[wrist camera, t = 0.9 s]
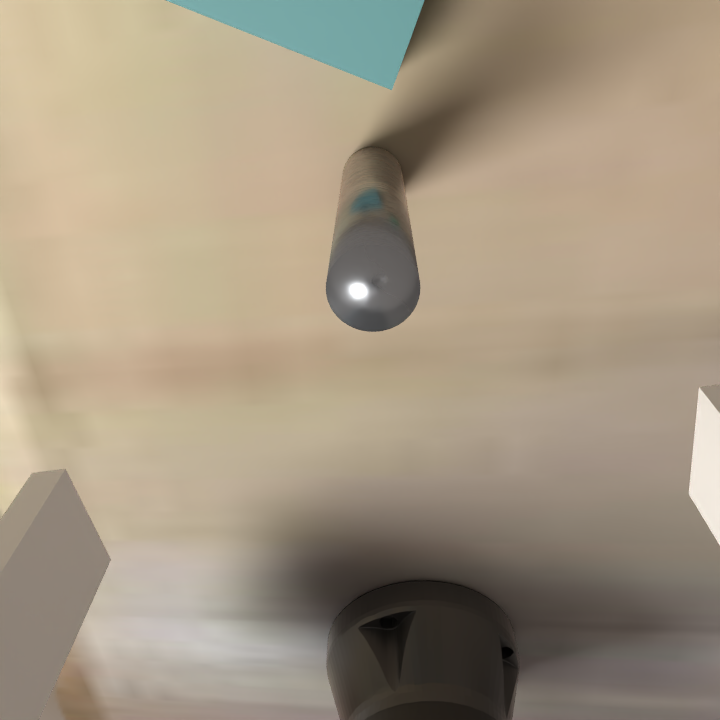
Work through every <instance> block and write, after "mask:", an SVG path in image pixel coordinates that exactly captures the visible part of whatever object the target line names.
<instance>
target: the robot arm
mask: <svg viewBox="0 0 720 720" xmlns="http://www.w3.org/2000/svg"><path fill="white" fill-rule="evenodd" d="M689 495H690V497H691V499H692V500H693V502H694V503H695V505H696V507H697V508H698V510H699V512H700V513H701V515H702V517H703V518H704V520H705V522H706V523H707V525H708V527H709V528H710V530H711V532H712V533H713V535H714V537H715V538H716V540H717V541H718V543H719V545H720V385H712V386H705V387H699V394H698V404H697V414H696V425H695V435H694V445H693V456H692V466H691V476H690V486H689ZM110 560H111V559H110V557H109V555H108V553H107V551H106V549H105V547H104V545H103V543H102V541H101V539H100V537H99V535H98V533H97V531H96V529H95V527H94V525H93V523H92V521H91V519H90V517H89V515H88V513H87V511H86V509H85V507H84V505H83V503H82V501H81V499H80V497H79V495H78V493H77V491H76V489H75V487H74V485H73V483H72V481H71V479H70V477H69V475H68V473H67V471H66V469H61V470H53V471H45V472H37V473H32V474H31V476H30V477H29V478H28V480H27V481H26V483H25V484H24V486H23V487H22V489H21V490H20V492H19V493H18V495H17V496H16V497H15V499H14V500H13V502H12V503H11V505H10V506H9V508H8V509H7V511H6V512H5V514H4V515H3V517H2V518H1V519H0V720H39V719H40V717H41V714H42V712H43V710H44V708H45V705H46V703H47V701H48V699H49V697H50V694H51V692H52V690H53V688H54V685H55V683H56V681H57V679H58V676H59V674H60V672H61V670H62V668H63V665H64V663H65V661H66V659H67V656H68V654H69V652H70V650H71V647H72V645H73V643H74V641H75V639H76V636H77V634H78V632H79V630H80V627H81V625H82V623H83V621H84V618H85V616H86V614H87V612H88V610H89V607H90V605H91V603H92V601H93V598H94V596H95V594H96V592H97V589H98V587H99V585H100V583H101V581H102V578H103V576H104V574H105V572H106V569H107V567H108V565H109V563H110ZM518 674H519V654H518V649H517V645H516V640H515V635H514V631H513V628H512V625H511V623H510V621H509V619H508V618H507V616H506V615H505V613H504V612H503V611H502V610H501V609H500V608H499V607H498V606H497V605H496V604H495V603H494V602H492V601H491V600H490V599H488V598H486V597H485V596H483V595H481V594H479V593H477V592H475V591H473V590H470V589H468V588H465V587H462V586H458V585H454V584H449V583H443V582H434V581H414V582H404V583H398V584H393V585H389V586H385V587H382V588H379V589H376V590H374V591H371V592H369V593H367V594H365V595H363V596H361V597H360V598H358V599H356V600H355V601H354V602H352V603H351V604H350V605H348V606H347V607H346V608H345V609H344V610H343V611H342V612H341V613H340V614H339V615H338V617H337V618H336V620H335V621H334V623H333V625H332V627H331V630H330V633H329V637H328V647H327V675H328V679H329V683H330V686H331V690H332V693H333V697H334V700H335V704H336V707H337V711H338V714H339V718H340V720H512V717H513V709H514V702H515V695H516V688H517V681H518Z"/></svg>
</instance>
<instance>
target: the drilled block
mask: <svg viewBox="0 0 720 720" xmlns="http://www.w3.org/2000/svg"><path fill="white" fill-rule="evenodd" d="M166 1H169V2H171V3H174V4H176V5H179V6H181V7H184V8H187V9H189V10H192V11H194V12H197V13H199V14H202V15H204V16H207V17H209V18H212V19H214V20H217V21H219V22H222V23H224V24H227V25H229V26H232V27H234V28H237V29H239V30H242V31H244V32H247V33H249V34H252V35H255V36H257V37H260V38H262V39H265V40H267V41H270V42H272V43H275V44H277V45H280V46H282V47H285V48H287V49H290V50H292V51H295V52H297V53H300V54H302V55H305V56H307V57H310V58H312V59H315V60H317V61H320V62H322V63H325V64H328V65H330V66H333V67H335V68H338V69H340V70H343V71H345V72H348V73H350V74H353V75H355V76H358V77H360V78H363V79H365V80H368V81H370V82H373V83H375V84H378V85H380V86H383V87H385V88H388V89H390V90H392V88H393V85H394V83H395V80H396V77H397V74H398V72H399V69H400V66H401V63H402V61H403V58H404V55H405V52H406V50H407V47H408V44H409V41H410V39H411V36H412V33H413V30H414V28H415V25H416V22H417V19H418V17H419V14H420V11H421V8H422V6H423V3H424V0H166Z"/></svg>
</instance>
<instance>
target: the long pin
mask: <svg viewBox="0 0 720 720" xmlns="http://www.w3.org/2000/svg"><path fill="white" fill-rule="evenodd" d="M326 294H327V299H328V302H329V305H330V307H331V309H332V310H333V312H334V313H335V314H336V316H337V317H338V318H339V319H340V320H341V321H343V322H344V323H346V324H347V325H349V326H351V327H353V328H356V329H359V330H362V331H371V332H376V331H383V330H387V329H390V328H393V327H395V326H397V325H399V324H400V323H402V322H403V321H404V320H405V319H407V318H408V317H409V316H410V314H411V313H412V312H413V310H414V309H415V307H416V305H417V302H418V300H419V295H420V280H419V274H418V268H417V262H416V256H415V249H414V243H413V237H412V231H411V225H410V219H409V212H408V206H407V200H406V194H405V188H404V181H403V175H402V170H401V167H400V164H399V162H398V161H397V159H396V158H395V157H394V156H393V155H392V154H391V153H390V152H388V151H387V150H384V149H382V148H378V147H367V148H363V149H361V150H359V151H357V152H355V153H354V154H353V155H352V156H351V157H350V158H349V159H348V161H347V162H346V164H345V167H344V170H343V176H342V183H341V189H340V196H339V202H338V209H337V216H336V222H335V229H334V236H333V242H332V249H331V255H330V262H329V269H328V275H327V282H326Z"/></svg>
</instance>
